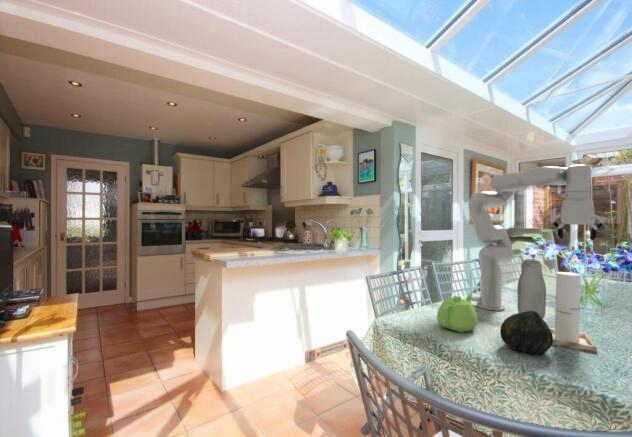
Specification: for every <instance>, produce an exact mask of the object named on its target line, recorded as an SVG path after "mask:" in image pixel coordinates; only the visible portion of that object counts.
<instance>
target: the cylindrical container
mask: <svg viewBox="0 0 632 437" xmlns="http://www.w3.org/2000/svg"><path fill="white" fill-rule="evenodd" d="M581 279H582V274H580V273H575V272H568V271H557V272H556V274H555V307H554V308H555V310H554V311H555V313H554V315H555V317H554V329H555V338H556V339H558V340H564V341H570V342H575V343H579V333H580V327H581V326H580V320H581V282H582V280H581Z"/></svg>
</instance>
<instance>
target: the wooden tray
mask: <svg viewBox="0 0 632 437" xmlns="http://www.w3.org/2000/svg"><path fill="white" fill-rule="evenodd" d="M549 329H550V331H551V332H552V336H553V343H552V346H556V345H557V347H563V348H567V347H569V348H568V349H573V348H575V349H574V350H578V349H580V351H584V350H585V352H589V351H590V353H595V354H597V353H598V346H597V345H596V343H595V342H594V341H593V339H592V338H591V336H589V334H588V333H584V332H579V343H575V342H570V341H564V340H558V339H556V338H555V328H553V327H549Z"/></svg>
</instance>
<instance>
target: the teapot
mask: <svg viewBox="0 0 632 437" xmlns="http://www.w3.org/2000/svg"><path fill="white" fill-rule="evenodd" d="M471 297H473V293H469V294H467V295H466V298H465V299H462V297H461V296H459V295H455V296H452V297H448V298H444V299H443V301H442V303H441V304H440V306H439V307H438V310H437V313H436V314H437V315H436V320H437V322H438V324H439V325H440V326H441V327H442V328H444V327H445V328H444V329H449V330H452V331H456V332H457V331H458V332H457V333H459V332H463V333H464V332H469V331H473V330H474V329H475V327H476V326H477V325H478V323H479V322H478V317H477V316H478V314H477V313H476V309H475V308H474V306H473V304H472V300H471Z"/></svg>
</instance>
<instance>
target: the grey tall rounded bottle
mask: <svg viewBox="0 0 632 437" xmlns="http://www.w3.org/2000/svg"><path fill="white" fill-rule="evenodd" d="M520 267H521V271H520V275H519V278H518V281H517V287H516V288H517V289H516V290H517V313H521V312H525V311H535V312H537V313H538V314H539V315H540V316H541V317H542V319H543V320H544V318H545V316H546V311H547V310H546V306H547V285H546V282H545V279H544V274H543V265H542V263H541V261H540V260H537V259H534V258H527V259H524V260H523V261H522V262H521V266H520Z"/></svg>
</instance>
